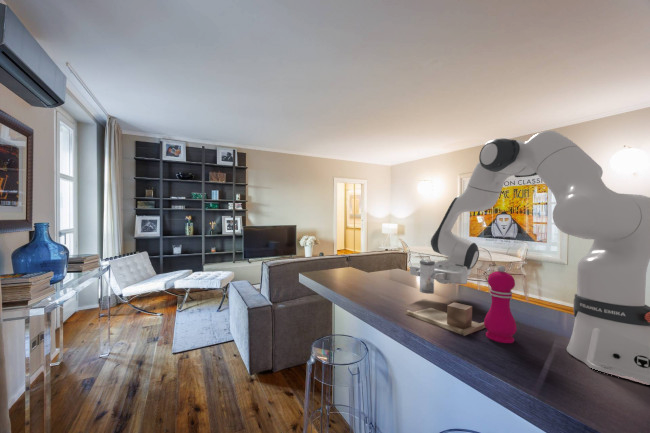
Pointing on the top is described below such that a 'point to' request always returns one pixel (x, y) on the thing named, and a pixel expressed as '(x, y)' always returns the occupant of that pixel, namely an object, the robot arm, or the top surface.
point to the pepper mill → (500, 307)
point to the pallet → (443, 320)
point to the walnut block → (459, 315)
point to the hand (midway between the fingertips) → (425, 275)
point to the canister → (426, 276)
